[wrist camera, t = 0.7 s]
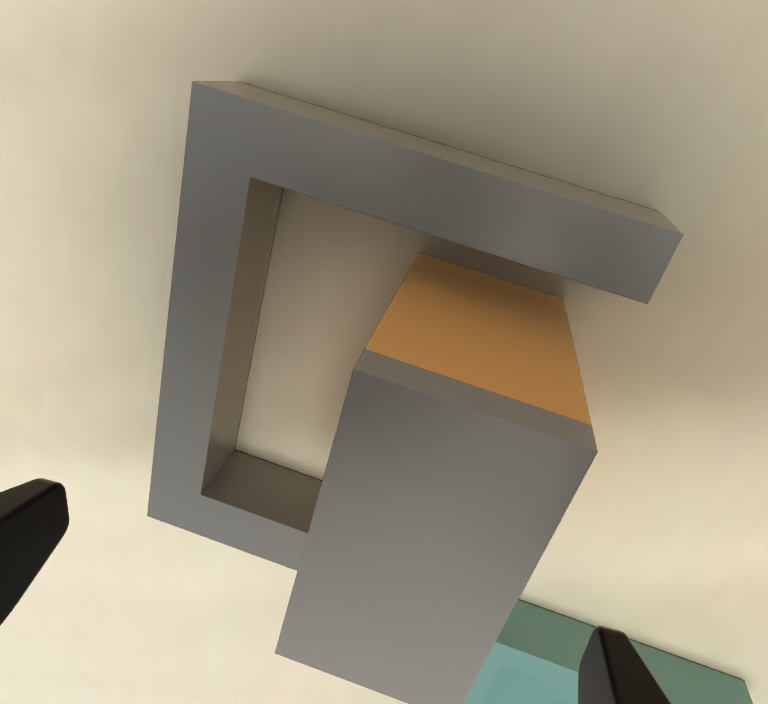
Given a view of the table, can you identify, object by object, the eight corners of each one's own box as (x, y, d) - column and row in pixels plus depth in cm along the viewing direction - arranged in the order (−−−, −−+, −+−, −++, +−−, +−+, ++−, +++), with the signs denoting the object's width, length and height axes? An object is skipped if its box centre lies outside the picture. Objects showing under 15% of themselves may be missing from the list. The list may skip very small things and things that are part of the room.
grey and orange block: (563, 299, 19) (597, 451, 11) (474, 502, 23) (453, 720, 15) (419, 252, 20) (353, 368, 12) (355, 460, 24) (274, 652, 16)
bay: (657, 211, 18) (683, 233, 15) (481, 576, 25) (477, 636, 22) (239, 81, 19) (192, 81, 16) (185, 470, 26) (147, 516, 23)
